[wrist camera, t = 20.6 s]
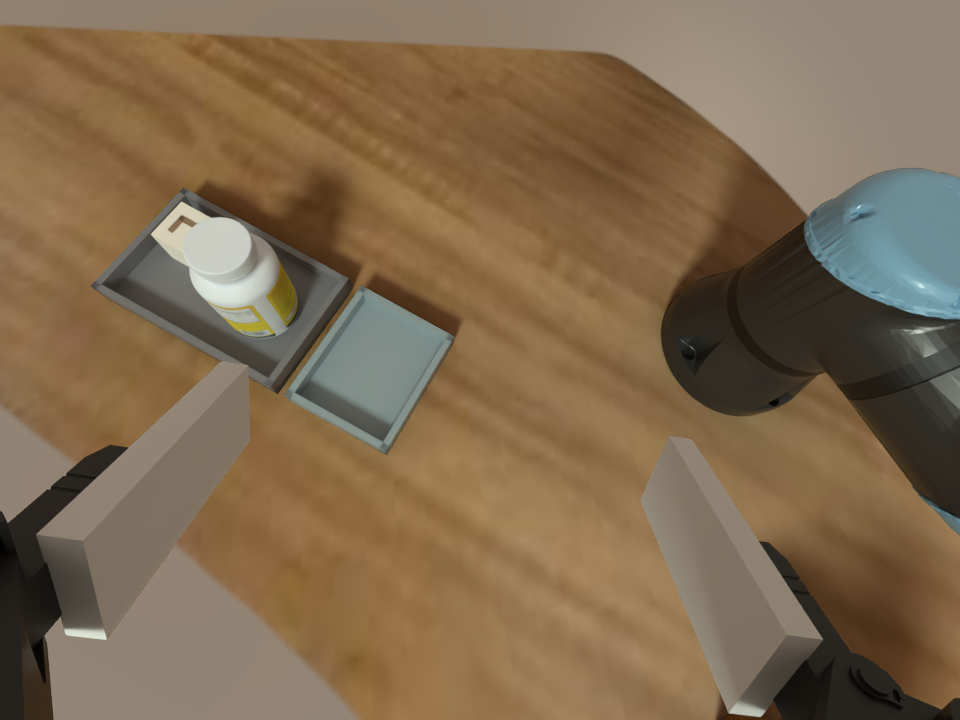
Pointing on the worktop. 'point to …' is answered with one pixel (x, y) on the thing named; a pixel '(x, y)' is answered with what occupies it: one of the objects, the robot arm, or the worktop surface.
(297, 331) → the charcoal tray
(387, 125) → the worktop surface
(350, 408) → the slate tray
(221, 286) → the pill bottle
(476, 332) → the worktop surface
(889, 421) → the robot arm
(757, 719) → the disposable coffee cup
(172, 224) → the letter cube
